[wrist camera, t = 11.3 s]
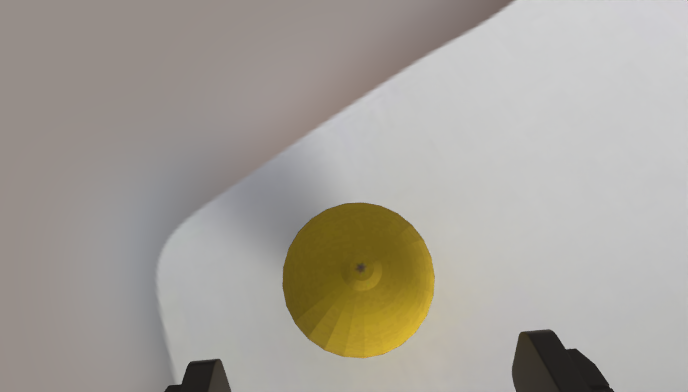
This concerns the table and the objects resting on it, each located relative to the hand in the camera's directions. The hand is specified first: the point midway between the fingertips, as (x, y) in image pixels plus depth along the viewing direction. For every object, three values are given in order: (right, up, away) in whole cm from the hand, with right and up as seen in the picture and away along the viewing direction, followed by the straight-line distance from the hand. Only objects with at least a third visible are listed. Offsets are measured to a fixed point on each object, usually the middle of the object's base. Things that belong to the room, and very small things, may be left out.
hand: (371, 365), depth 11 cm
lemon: (0, 0, +8) cm, 8 cm away
